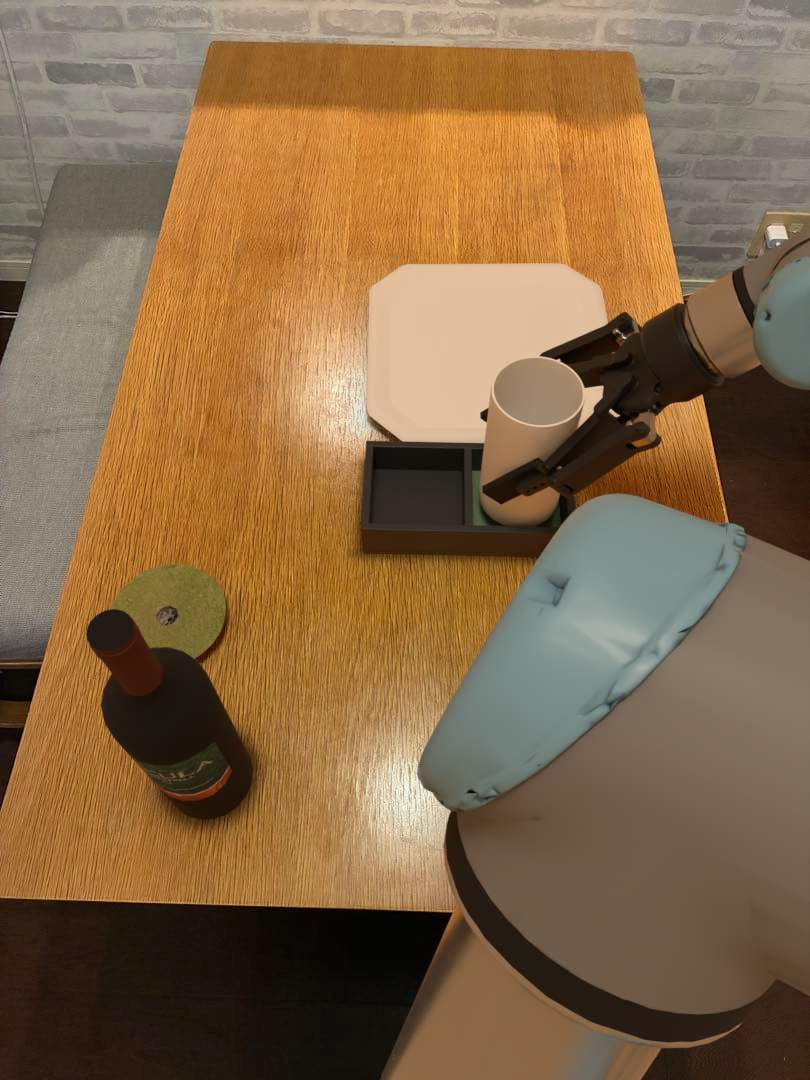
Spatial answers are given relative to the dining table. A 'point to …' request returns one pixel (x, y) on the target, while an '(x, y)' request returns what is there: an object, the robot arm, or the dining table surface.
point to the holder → (439, 504)
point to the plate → (466, 340)
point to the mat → (175, 607)
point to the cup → (528, 430)
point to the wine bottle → (170, 719)
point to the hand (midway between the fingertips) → (490, 457)
